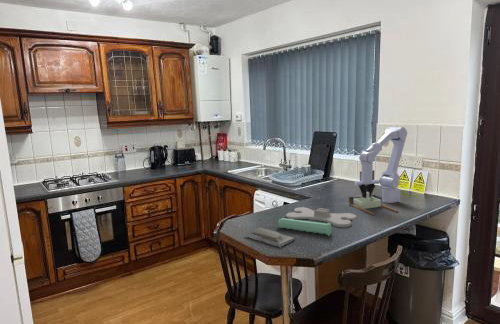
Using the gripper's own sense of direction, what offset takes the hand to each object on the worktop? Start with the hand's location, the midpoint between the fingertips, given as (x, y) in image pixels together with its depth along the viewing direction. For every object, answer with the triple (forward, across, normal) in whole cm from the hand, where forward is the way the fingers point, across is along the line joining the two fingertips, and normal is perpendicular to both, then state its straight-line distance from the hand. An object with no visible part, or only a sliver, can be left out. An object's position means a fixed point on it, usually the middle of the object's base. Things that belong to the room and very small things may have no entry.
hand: (366, 197), depth 186 cm
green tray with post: (+5, 0, 0) cm, 5 cm away
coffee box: (+6, +15, +21) cm, 27 cm away
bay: (+6, 0, -4) cm, 7 cm away
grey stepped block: (+7, -66, -24) cm, 71 cm away
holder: (+6, -32, -7) cm, 33 cm away
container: (+6, -48, -21) cm, 53 cm away
